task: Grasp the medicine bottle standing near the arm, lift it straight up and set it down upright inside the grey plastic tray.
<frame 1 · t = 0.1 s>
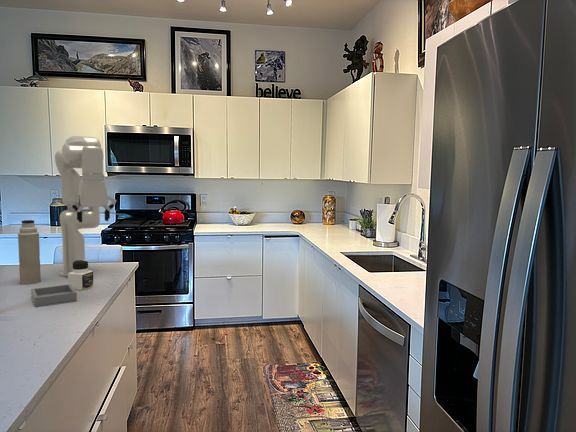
hand: (93, 221, 165), 31 cm above the worktop, tool pointing down, fingers open, 9 cm apart
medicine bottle: (81, 288, 182), on the worktop
tray: (53, 299, 165), on the worktop
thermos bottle: (30, 282, 188), on the worktop
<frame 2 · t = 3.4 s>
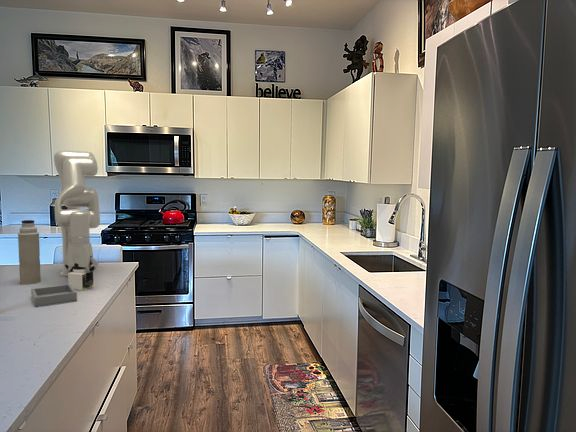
hand: (80, 280, 181), 3 cm above the worktop, tool pointing down, fingers closed on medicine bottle, 7 cm apart
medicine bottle: (81, 288, 182), on the worktop, touching gripper
everything else where it was.
when the fingers open (5 cm above the worktop, at t = 10.9 s): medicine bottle drops 1 cm, resting on tray.
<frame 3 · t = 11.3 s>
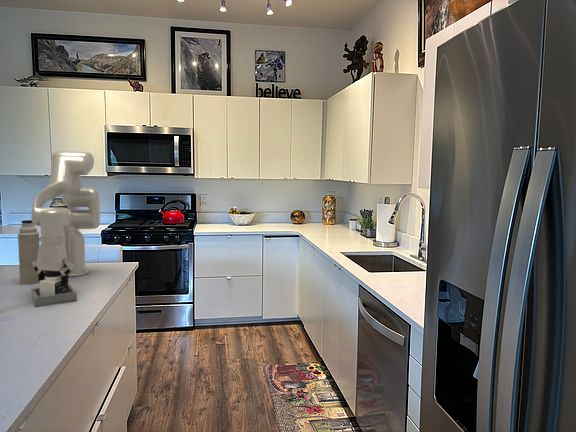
hand: (53, 284, 164), 6 cm above the worktop, tool pointing down, fingers open, 9 cm apart
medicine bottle: (54, 297, 165), point 1 cm above the worktop, touching tray
everything else where it was.
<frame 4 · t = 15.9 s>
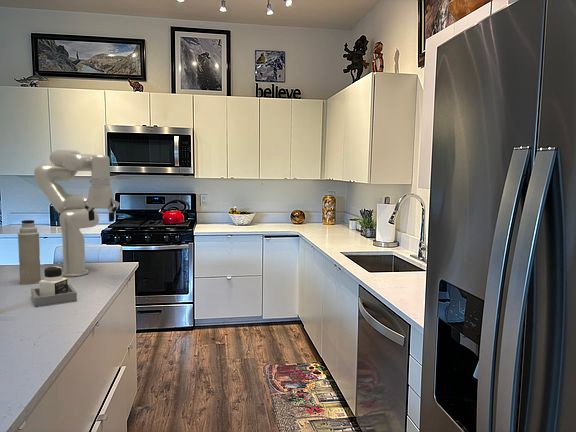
hand: (101, 220, 189), 28 cm above the worktop, tool pointing down, fingers open, 9 cm apart
nothing on the worktop moved.
at the end: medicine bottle inside the target area on the tray (0.2 cm from its centre), point 0.6 cm above the tray's base; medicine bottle tilted 0°; the gripper is holding nothing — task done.
